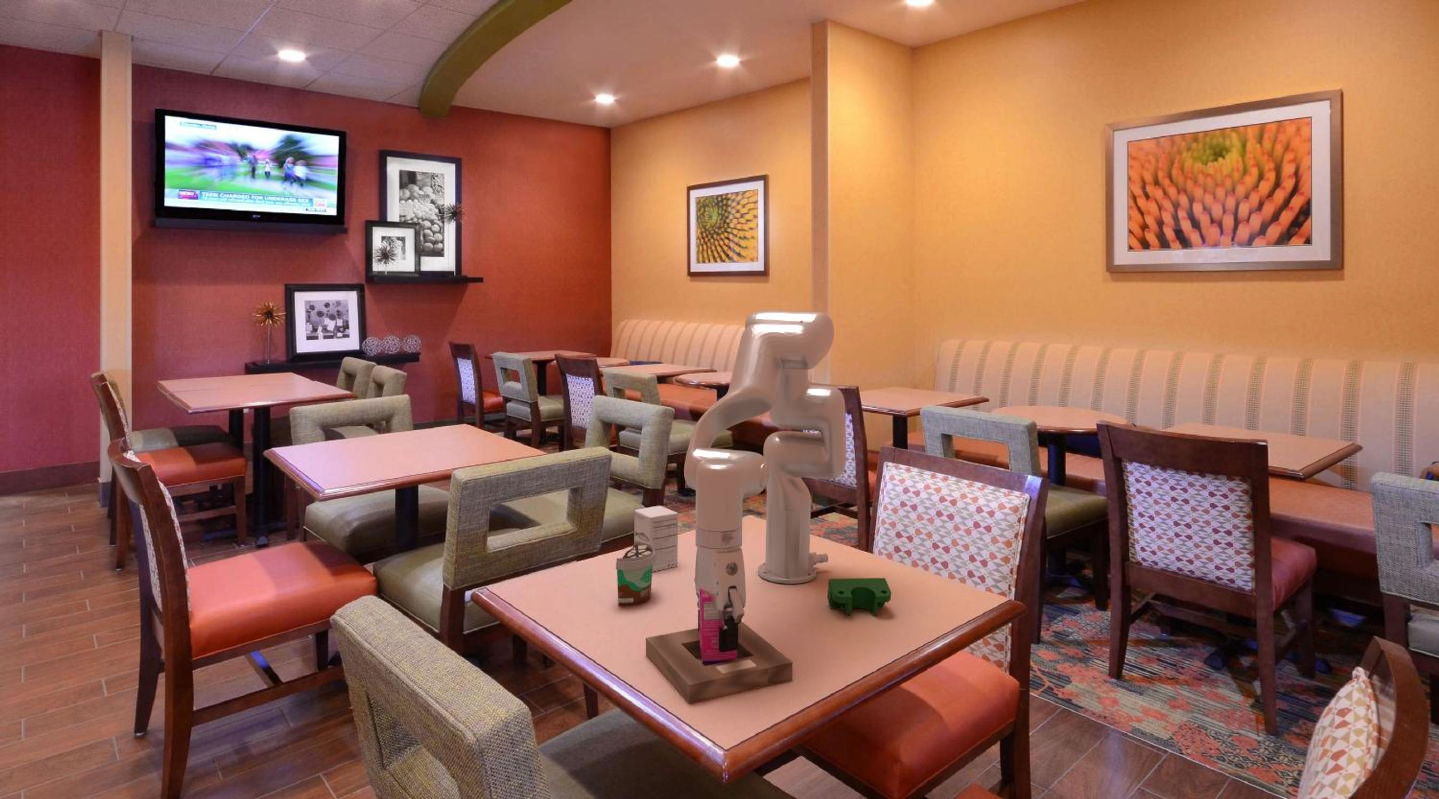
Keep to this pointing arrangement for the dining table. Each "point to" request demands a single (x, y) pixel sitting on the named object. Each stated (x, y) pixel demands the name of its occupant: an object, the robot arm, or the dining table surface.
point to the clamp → (858, 593)
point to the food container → (635, 574)
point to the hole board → (706, 682)
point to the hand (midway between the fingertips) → (717, 639)
